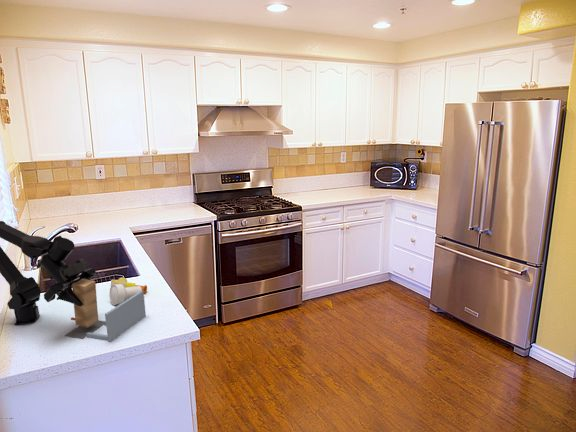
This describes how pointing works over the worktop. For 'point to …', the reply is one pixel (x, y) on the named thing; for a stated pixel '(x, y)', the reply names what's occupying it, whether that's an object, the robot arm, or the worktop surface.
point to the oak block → (85, 303)
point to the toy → (127, 284)
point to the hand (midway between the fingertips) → (87, 302)
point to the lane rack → (122, 317)
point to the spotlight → (122, 293)
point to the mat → (84, 330)
